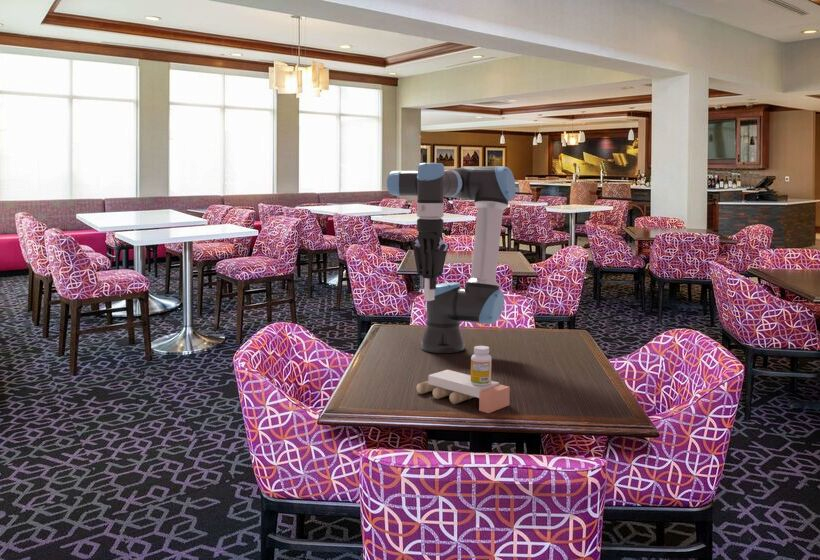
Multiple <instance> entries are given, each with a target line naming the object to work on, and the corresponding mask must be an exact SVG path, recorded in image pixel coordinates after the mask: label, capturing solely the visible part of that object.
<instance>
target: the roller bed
mask: <svg viewBox="0 0 820 560" xmlns="http://www.w3.org/2000/svg"><path fill="white" fill-rule="evenodd" d="M416 391H417V393H418V394H420V395H424V394H427V393H429V392H432V396H433V398H435V399H436V400H440V399H442V398H445V397H448V396H449V398H448V399H449V401H450V403H451V404H452V405H457V404H459V403H462V402H464V401H467V400H471V399H473V398H475V397H473V396H470V395H466V394H463V393H459V392H455V391H452V390H448V389H445V388H441V387H437V386H434V385H430V384H428V380H427V381H423V382H420V383H418V384H417V385H416Z"/></svg>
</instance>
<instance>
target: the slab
mask: <svg viewBox="0 0 820 560" xmlns="http://www.w3.org/2000/svg"><path fill="white" fill-rule="evenodd" d="M427 379H428V380H427V381H428V384H430V385H434V386H437V387H441V388H445V389H448V390H452V391H455V392H459V393H463V394H466V395H470V396H473V397H474V398H478V399H479V392H480V391H483V390H486V389H489V388H492V387H495V386H497V385H500V382H498V381H493V380H491V384H489V385H486V386H478V385H473V384H472V383H471V374H466V373H463V372H458V371H454V370H452V369H444V370H442V371H438V372H434V373H430V374H428V377H427Z"/></svg>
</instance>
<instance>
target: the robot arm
mask: <svg viewBox="0 0 820 560" xmlns="http://www.w3.org/2000/svg"><path fill="white" fill-rule="evenodd" d="M515 181H516V180H515V177H514V174H513V172H512V170H511V169H510V167H507V166H498V165H491V166H487V165H486V166H484V165H483V166H469V165H468V166H462V167H457V168H447V169H445V166H444V164H443V163H441V162H421V163H419V164H418V166H417V170H393V171H391V172H389V174H388V175H387V178H386V188H387V192H388V193H389V194H390V195H391V196H398V197H417V198H416V199H417V200H416V202H417V207H416V210H417V211H416V217H418V218H417V220H416V231H417V232H418V234H417V239H415V241H411V242H410V244H411V245H410V246H411V247H412V249H413V253H414V254H413V255H414V260H415V261H414V263H415V266H416V273H417V275H418V276H419V275H420V276H421V277H422V288H423V289H424V292H423V293H424V294H423V295H424V299H423V300H424V301H425V302H426V328H425V331H424V333H423V337H422V340H421V345H420V346H421V349H422V350H423V351H424V352H428V353H435V354H454V352H455V353H460V352H462V351H464V350H465V341H464V339H463V334H462V332H461V327H460V323H461V322H463V323H465V322H466V323H474V324H480V325H484V324H486V325H492V324H494V323H496V322H498V320H499V319H500V318H501V315H502V313H503V310H504V305H505V294H504V292H503V291H502V290H500V287H501V286H500V284H499V283H498V281H497V271H498V263H499V262H498V260H499V251H500V250H499V249H500V243H501V232H502V222H503V212H504V211H505V210H506V209H507V208H508V207H509V202H511V201H513V200H515V197H516V182H515ZM445 197H446V198H455V199H460V200H466V201H467V200H468V201H474V202H473V204H474V207H476V208H477V213H476V223H475V233H474V241H473V242H474V243H473V253H472V261H471V271H470V272H471V273H470V277H469V279H467V280H466V281H465V286H464V287H462V285H461V283H460V282H456V281H455V282H454V281H453V282H442V283H437V279H438V277H441V276H443V271H444V268H445V267H444V266H445V262H446V257H447V253H448V250H449V248H450V244H449V243H446V242H445V241H444V238H443V235H442V234H443V232H444V219H443V218H444V216H445V215H444V213H445V212H444V211H445V210H444V205H445V204H444V201H445ZM459 351H460V352H459Z"/></svg>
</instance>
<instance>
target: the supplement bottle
mask: <svg viewBox="0 0 820 560" xmlns="http://www.w3.org/2000/svg"><path fill="white" fill-rule="evenodd" d="M489 353H490V347H489V346H487V345H475V346H474V347H473V354H472V355H471V357H470V375H471V383H472V384H473V385H478V386H486V385H489V384H491V381H492V361H493V360H492V356H491V355H490V354H489Z"/></svg>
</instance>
